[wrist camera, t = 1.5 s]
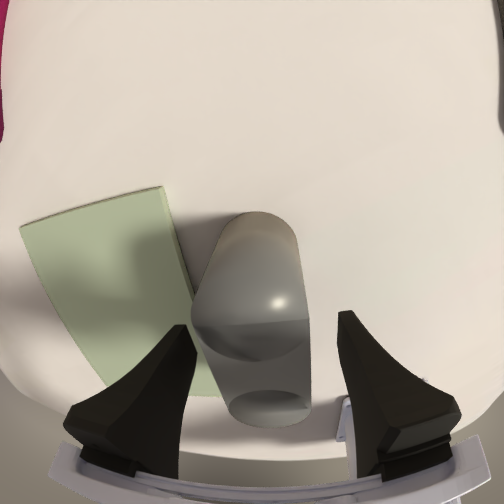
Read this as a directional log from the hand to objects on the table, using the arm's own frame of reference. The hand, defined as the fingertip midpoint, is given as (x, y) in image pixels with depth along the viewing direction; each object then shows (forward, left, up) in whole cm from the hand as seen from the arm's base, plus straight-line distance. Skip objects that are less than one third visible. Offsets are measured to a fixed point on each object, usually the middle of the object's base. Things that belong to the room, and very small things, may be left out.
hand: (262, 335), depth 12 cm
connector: (-1, 0, -3) cm, 3 cm away
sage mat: (-1, +10, -3) cm, 11 cm away
